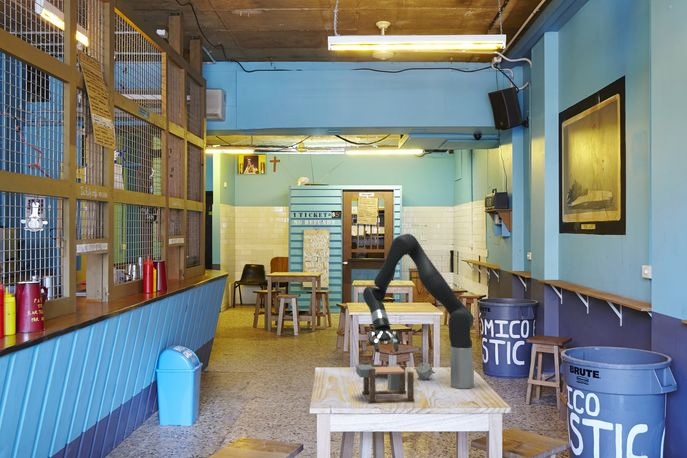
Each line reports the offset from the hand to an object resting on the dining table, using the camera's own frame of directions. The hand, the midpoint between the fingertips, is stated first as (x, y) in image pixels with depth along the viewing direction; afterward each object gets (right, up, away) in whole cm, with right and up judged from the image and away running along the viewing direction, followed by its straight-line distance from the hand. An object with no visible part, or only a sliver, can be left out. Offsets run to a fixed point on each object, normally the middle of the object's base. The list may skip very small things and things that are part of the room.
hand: (387, 351), depth 271 cm
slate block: (+2, -9, -11) cm, 15 cm away
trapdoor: (-5, -4, -25) cm, 26 cm away
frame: (-2, -14, -25) cm, 29 cm away
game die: (+18, -15, +9) cm, 25 cm away
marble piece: (-2, -15, +18) cm, 24 cm away
